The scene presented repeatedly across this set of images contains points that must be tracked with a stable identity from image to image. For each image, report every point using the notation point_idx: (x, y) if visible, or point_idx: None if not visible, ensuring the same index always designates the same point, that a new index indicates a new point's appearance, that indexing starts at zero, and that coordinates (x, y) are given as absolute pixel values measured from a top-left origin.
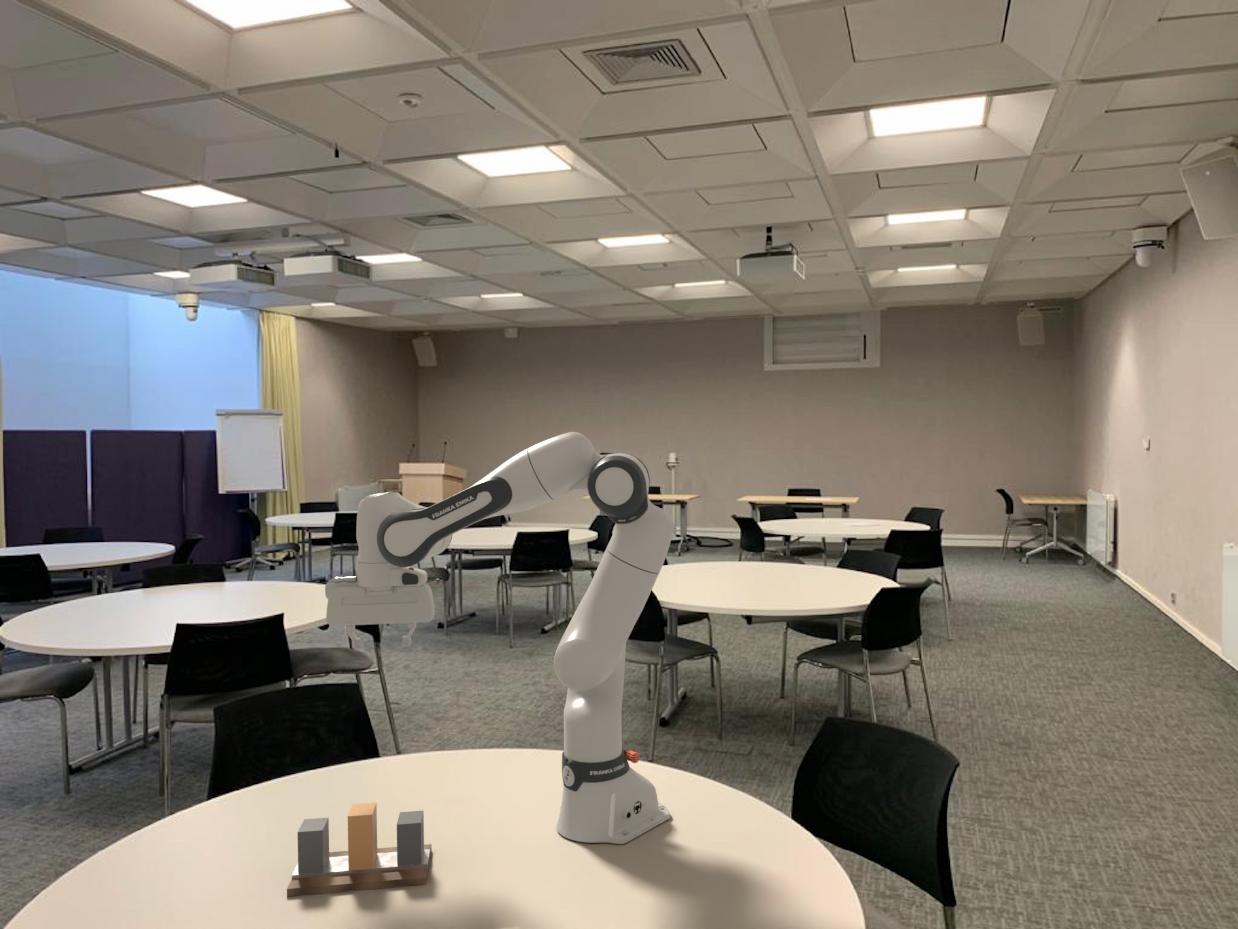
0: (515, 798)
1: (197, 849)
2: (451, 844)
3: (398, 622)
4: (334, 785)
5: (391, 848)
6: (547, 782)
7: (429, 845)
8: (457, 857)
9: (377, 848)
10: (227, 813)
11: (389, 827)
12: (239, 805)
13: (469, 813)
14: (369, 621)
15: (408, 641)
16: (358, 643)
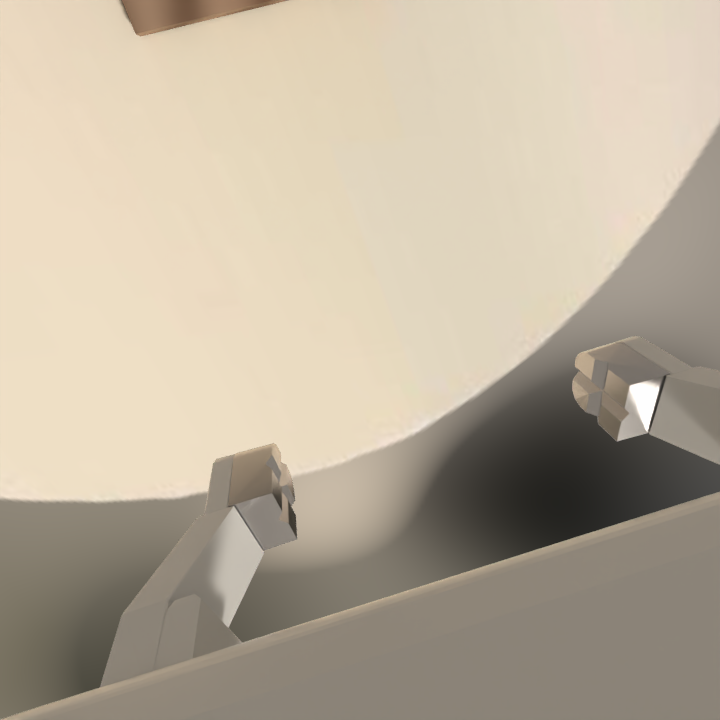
0: (101, 323)
1: (626, 44)
2: (115, 85)
3: (294, 632)
4: (455, 335)
5: (222, 2)
6: (77, 394)
7: (136, 24)
8: (58, 3)
9: (256, 3)
10: (599, 212)
11: (294, 170)
12: (586, 245)
13: (160, 248)
14: (710, 536)
15: (221, 477)
16: (614, 361)
